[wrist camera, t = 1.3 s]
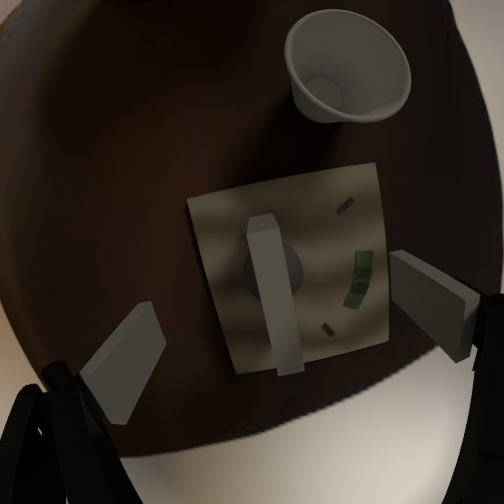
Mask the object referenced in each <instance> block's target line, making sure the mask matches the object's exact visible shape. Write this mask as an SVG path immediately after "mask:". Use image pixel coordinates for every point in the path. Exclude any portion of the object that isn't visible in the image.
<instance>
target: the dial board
mask: <svg viewBox="0 0 504 504" xmlns="http://www.w3.org/2000/svg"><path fill="white" fill-rule="evenodd" d="M187 202H188V206H189V210H190V214H191V218H192V222H193V226H194V230H195V234H196V238H197V242H198V246H199V250H200V253H201V257H202V261H203V265H204V268H205V272H206V276H207V279H208V283H209V286H210V290H211V293H212V297H213V300H214V304H215V307H216V310H217V314H218V317H219V321H220V324H221V327H222V330H223V334H224V337H225V340H226V343H227V346H228V350H229V353H230V356H231V359H232V362H233V365H234V368H235V371H236V374H242V373H249V372H256V371H262V370H268V369H274V368H276V363H275V359H274V355H273V350H272V346H271V341H270V337H269V332H268V328H267V324H266V319H265V315H264V310H263V306H262V302H261V300H259V299H257V298H255V297H254V296H253V295H251V294H250V292H249V291H248V290H247V288H246V286H245V284H244V281H243V268H244V262H245V259H246V257H247V255H248V253H249V252H250V248H249V244H248V240H247V235H246V233H247V228H248V222H249V218H250V217H255V216H260V215H265V214H269V213H273V215H274V217H275V220H276V222H277V224H278V226H279V229H280V234H281V239H282V242H283V243H285V244H287V245H289V246H290V247H291V248H292V249H293V250H294V251H295V252H296V253H297V255H298V257H299V259H300V261H301V263H302V266H303V272H304V273H303V281H302V284H301V286H300V288H299V289H298V291H297V292H296V293H295V294H294V295H293V296H292V298H293V303H294V309H295V315H296V321H297V327H298V332H299V338H300V345H301V351H302V357H303V363H305V362H309V361H314V360H318V359H323V358H327V357H331V356H335V355H339V354H343V353H347V352H351V351H355V350H358V349H362V348H366V347H369V346H373V345H376V344H379V343H383V342H386V341H388V338H389V290H388V267H387V252H386V240H385V229H384V220H383V212H382V204H381V197H380V190H379V183H378V177H377V171H376V166H375V163H368V164H361V165H354V166H347V167H341V168H334V169H328V170H322V171H316V172H310V173H305V174H299V175H294V176H288V177H283V178H278V179H273V180H268V181H263V182H258V183H254V184H249V185H244V186H240V187H235V188H231V189H226V190H222V191H218V192H214V193H209V194H205V195H201V196H197V197H193V198H189V199H187Z"/></svg>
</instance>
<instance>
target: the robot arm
mask: <svg viewBox="0 0 504 504" xmlns="http://www.w3.org/2000/svg"><path fill="white" fill-rule="evenodd" d="M390 265H391V285H392V300H393V301H394V302H396V303H397V304H398V305H399V306H400V307H401V308H402V309H403V310H404V311H405V312H406V313H407V314H408V315H409V316H410V317H411V318H412V319H413V320H414V321H415V322H416V323H417V324H418V325H419V326H420V327H421V328H422V329H423V330H424V331H425V332H426V333H427V334H428V335H429V336H430V337H431V338H432V339H433V340H434V341H435V342H436V343H437V344H438V345H439V346H440V347H441V348H442V349H443V350H444V351H445V353H447V355H449V357H450V358H451V359H452V360H453V361H454V362H455V363H458V362H460V361H462V360H464V359H466V358H468V357H469V356H470V352H471V348H472V344H473V345H475V347H477V348H478V349H477V354H476V358H475V362H474V365H473V369H472V371H475V373H474V381H473V389H472V396H471V403H470V408H469V414H468V420H467V424H466V429H465V433H464V437H463V441H462V445H461V449H460V453H459V457H458V460H457V463H456V466H455V469H454V472H453V476H452V478H451V481H450V485H449V487H448V489H447V492H446V495H445V497H444V499H443V502H442V504H504V294H501V293H496V294H492V295H490V296H488V295H486V294H485V293H483V292H481V291H480V290H478V289H476V288H475V287H473V286H471V285H470V284H467V283H466V282H464V281H463V280H461V279H458V278H454V277H450V276H448V275H446V274H445V273H443V272H441V271H439V270H438V269H436V268H434V267H432V266H431V265H429V264H427V263H425V262H423V261H422V260H420V259H418V258H416V257H414V256H412V255H410V254H409V253H407V252H405V251H403V250H399V251H394V252H390ZM166 344H167V343H166V341H165V338H164V336H163V333H162V331H161V328H160V325H159V323H158V320H157V317H156V315H155V312H154V309H153V306H152V303H151V301H149V302H143V303H139V304H138V305H137V306H136V307H135V308H134V309H133V310H132V311H131V313H130V314H129V315H128V316H127V317H126V318H125V319H124V321H123V322H122V323H121V324H120V325H119V326H118V327H117V328H116V330H115V331H114V332H113V333H112V334H111V335H110V337H109V338H108V339H107V340H106V341H105V342H104V344H103V345H102V346H101V347H100V348H99V349H98V350H97V351H96V352H95V353H94V354H93V355H92V356H91V357H90V360H88V361H87V362H86V364H85V365H84V366H83V367H82V368H81V369H80V371H79V372H78V373H77V374H76V375H75V377H74V376H73V374H72V372H71V371H70V369H69V367H68V365H67V363H66V362H65V361H63V360H58V361H55V362H52V363H50V364H48V365H47V366H46V367H44V368H43V370H42V371H41V376H42V378H43V379H44V381H45V383H46V384H47V386H48V388H49V389H50V392H44V393H43V392H42V391H41V389H40V387H39V386H38V385H37V384H29V385H26V386H24V387H23V388H22V389H21V390H20V391H19V393H18V394H17V397H16V399H15V402H14V404H13V406H12V409H11V412H10V414H9V417H8V419H7V422H6V425H5V427H4V431H3V434H2V436H1V439H0V504H66V497H67V501H68V504H143V502H142V501H141V499H140V497H139V495H138V494H137V492H136V490H135V488H134V486H133V485H132V483H131V481H130V479H129V477H128V475H127V473H126V471H125V469H124V467H123V465H122V463H121V461H120V459H119V456H118V454H117V452H116V450H115V448H114V445H113V443H112V441H111V438H110V436H109V433H108V431H107V428H106V426H105V424H104V423H103V422H102V420H101V419H102V417H103V416H104V414H105V415H106V417H107V418H108V419H109V421H110V422H111V424H121V425H126V424H127V421H128V419H129V417H130V415H131V413H132V411H133V409H134V407H135V405H136V403H137V401H138V399H139V397H140V395H141V393H142V391H143V389H144V387H145V385H146V383H147V381H148V379H149V377H150V375H151V373H152V371H153V369H154V367H155V365H156V363H157V361H158V359H159V357H160V355H161V353H162V352H163V350H164V348H165V346H166ZM38 428H39V429H40V430H41V432H42V435H41V434H40V432H39V430H38Z"/></svg>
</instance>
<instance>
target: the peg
mask: <svg viewBox="0 0 504 504" xmlns="http://www.w3.org/2000/svg"><path fill="white" fill-rule="evenodd" d="M246 235H247V240H248V244H249V248H250V252H249V253H248V255H247V257H246V259H245V262H244V268H243V281H244V284H245V286H246V288H247V290H248V291H249V292H250V294H251V295H253V296H254V297H255V298H257V299H259V300H261V302H262V306H263V310H264V315H265V319H266V324H267V328H268V332H269V337H270V341H271V346H272V350H273V355H274V359H275V363H276V368H277V372H278V376H282V375H287V374H292V373H297V372H302V371H305V370H304V363H303V357H302V351H301V345H300V338H299V332H298V327H297V321H296V315H295V309H294V303H293V298H292V296H293V295H294V294H295V293H296V292H297V291H298V289H299V288H300V286H301V284H302V281H303V273H304V272H303V266H302V263H301V261H300V259H299V257H298V255H297V253H296V252H295V251H294V250H293V249H292V248H291V247H290V246H289V245H287V244H285V243H283V242H282V239H281V234H280V229H279V226H278V224H277V222H276V220H275V217H274V215H273V213H269V214H265V215H260V216H255V217H250V218H249V222H248V228H247V233H246Z"/></svg>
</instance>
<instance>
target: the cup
mask: <svg viewBox="0 0 504 504" xmlns="http://www.w3.org/2000/svg"><path fill="white" fill-rule="evenodd" d="M284 58H285V62H286V66H287V70H288V72H289V74H290V77H291V84H292V92H293V98H294V102H295V104H296V106H297V108H298V109H299V111H300V112H301V113H302V114H303V115H304V116H306V117H307V118H308V119H310V120H313V121H315V122H319V123H333V122H343V121H353V122H360V123H368V122H377V121H380V120H384V119H387V118H388V117H390V116H392V115H394V114H395V113H396V112H397V111H398V110H399V109H401V108H402V106H403V105H404V103H405V102H406V100H407V98H408V95H409V92H410V87H411V74H410V67H409V64H408V61H407V58H406V56H405V54H404V52H403V51H402V49H401V47H400V46H399V44H398V43H397V42H396V40H395V39H394V38H393V37H392V36H391V35H390V34H389V33H388V32H387V31H386V30H385V29H384V28H382V27H381V26H380V25H378V24H377V23H376V22H374V21H372V20H370V19H368V18H367V17H365V16H362V15H359V14H357V13H354V12H350V11H345V10H334V9H328V10H321V11H316V12H314V13H311V14H308V15H306V16H305V17H303V18H302V19H300V20H298V21H297V23H296V24H295V25H294V26H293V27H292V28H291V30H290V32H289V33H288V35H287V37H286V42H285V46H284Z"/></svg>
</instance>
